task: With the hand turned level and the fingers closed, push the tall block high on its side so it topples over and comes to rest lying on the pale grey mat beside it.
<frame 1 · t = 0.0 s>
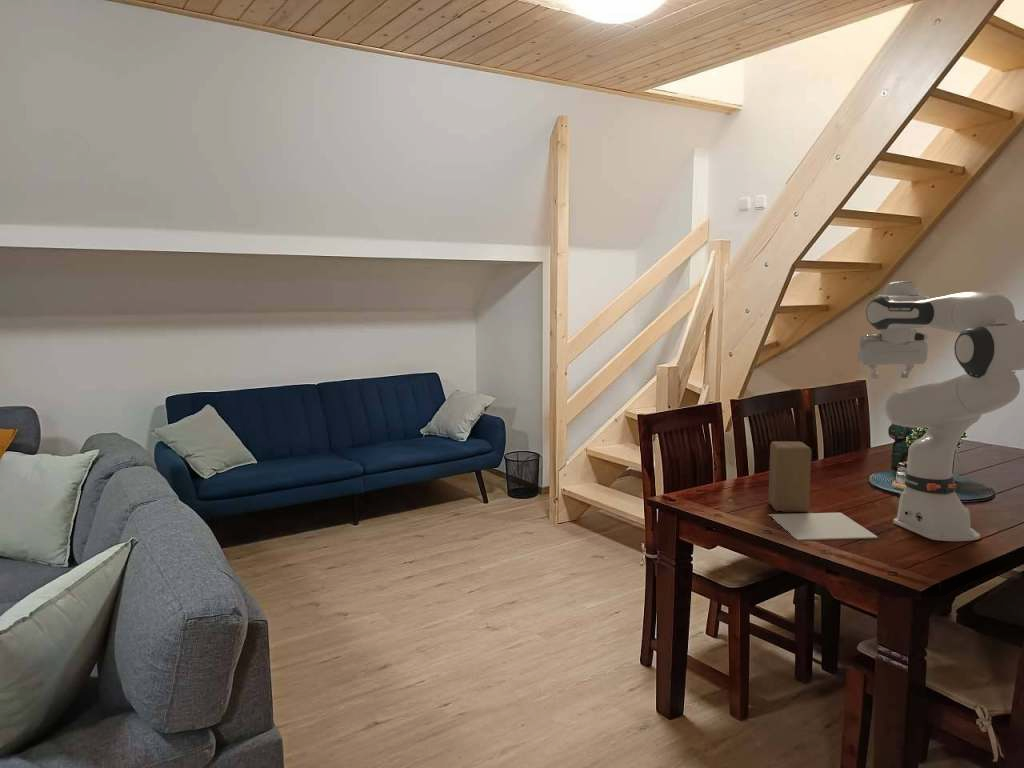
hand: (889, 378, 227), 39 cm above the table, tool pointing down, fingers open, 8 cm apart
block: (788, 508, 226), on the table
mat: (820, 526, 208), on the table
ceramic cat: (917, 471, 265), on the table
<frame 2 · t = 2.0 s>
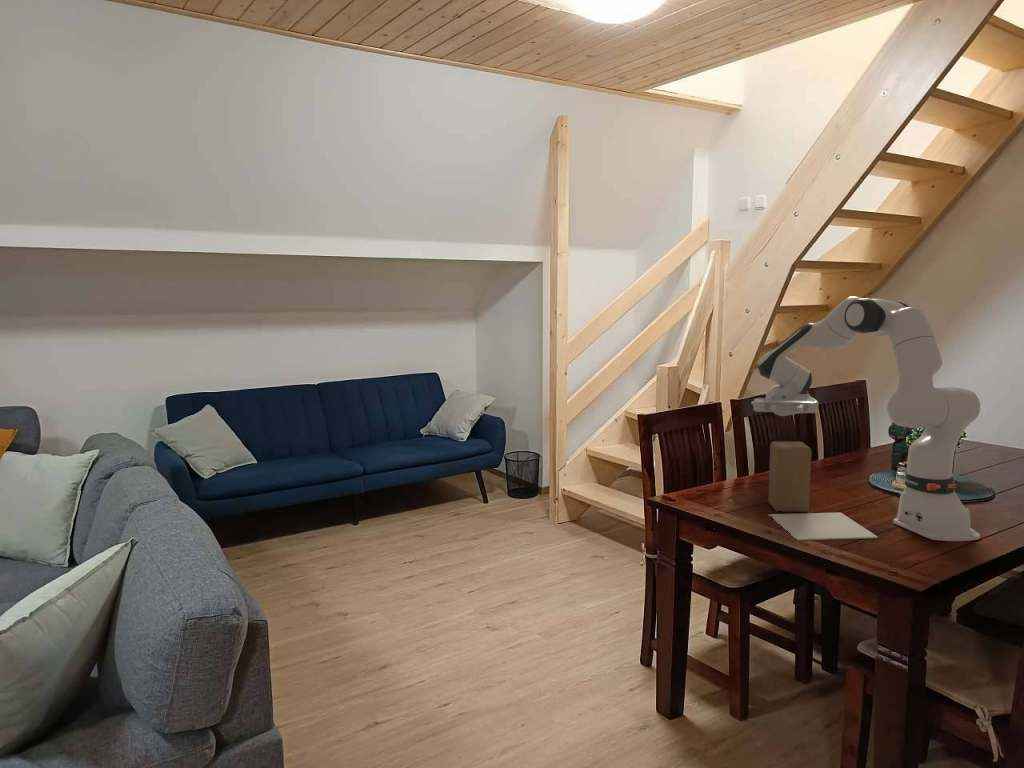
hand: (788, 409, 236), 28 cm above the table, tool horizontal, fingers open, 5 cm apart
nothing on the table moved.
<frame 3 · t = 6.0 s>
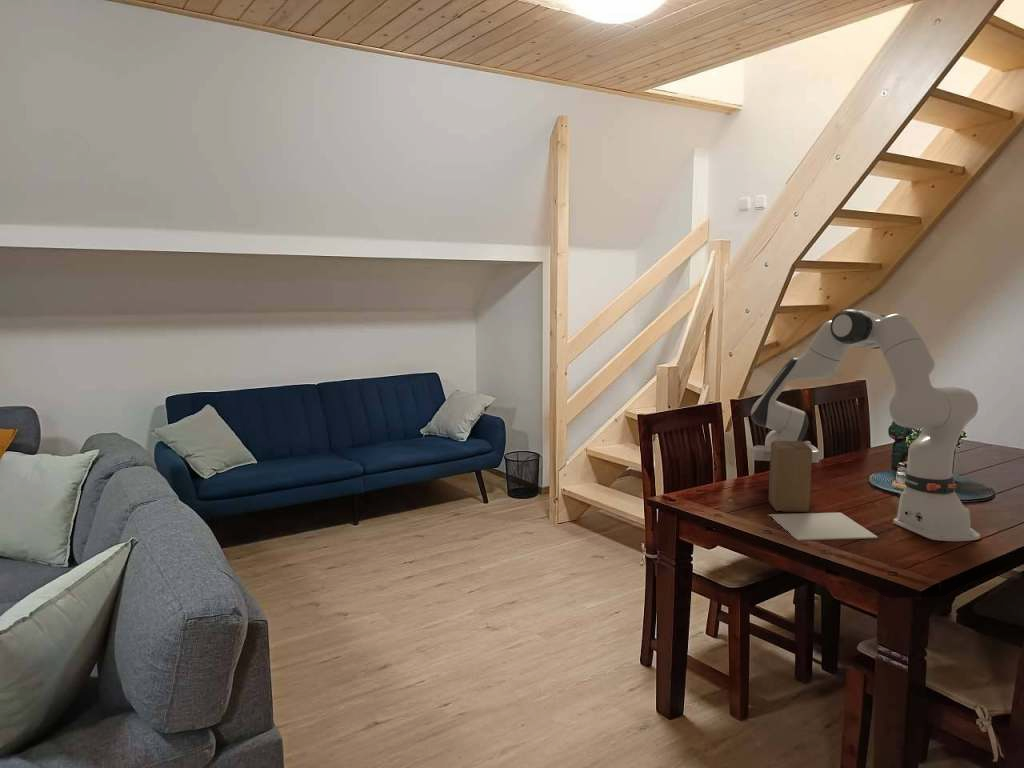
hand: (787, 459, 228), 14 cm above the table, tool horizontal, fingers closed
block: (788, 507, 226), on the table, touching gripper
everything else where it was.
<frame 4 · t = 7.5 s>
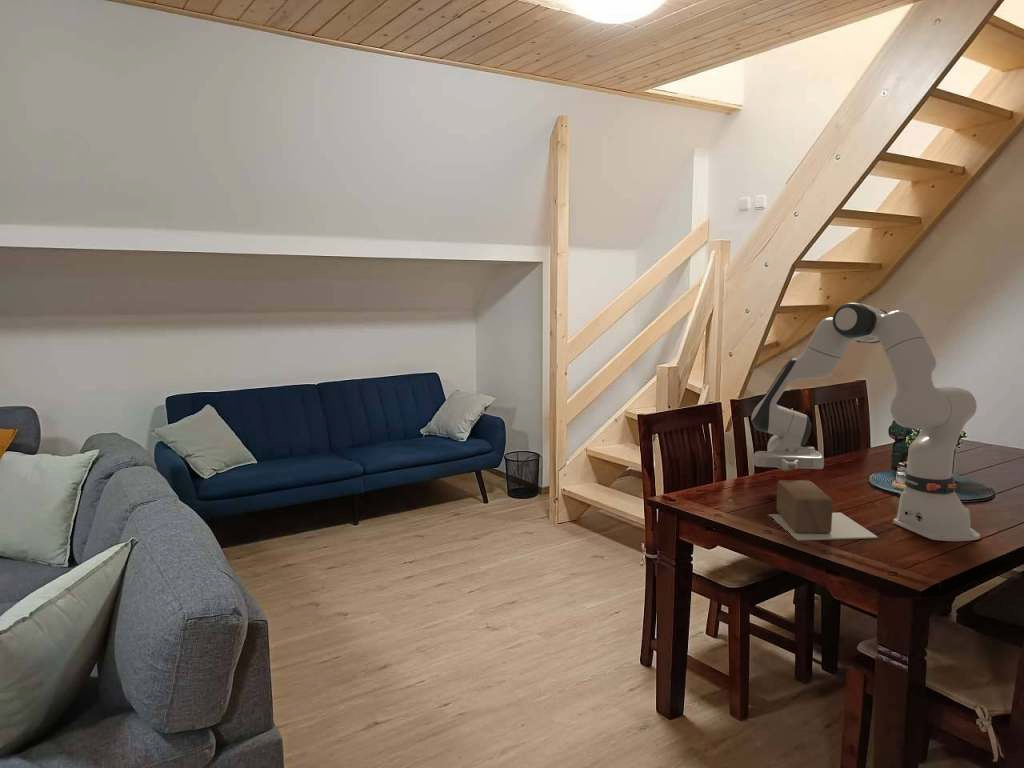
hand: (791, 466, 220), 14 cm above the table, tool horizontal, fingers closed
block: (793, 495, 220), point 5 cm above the table, touching mat
everything else where it was.
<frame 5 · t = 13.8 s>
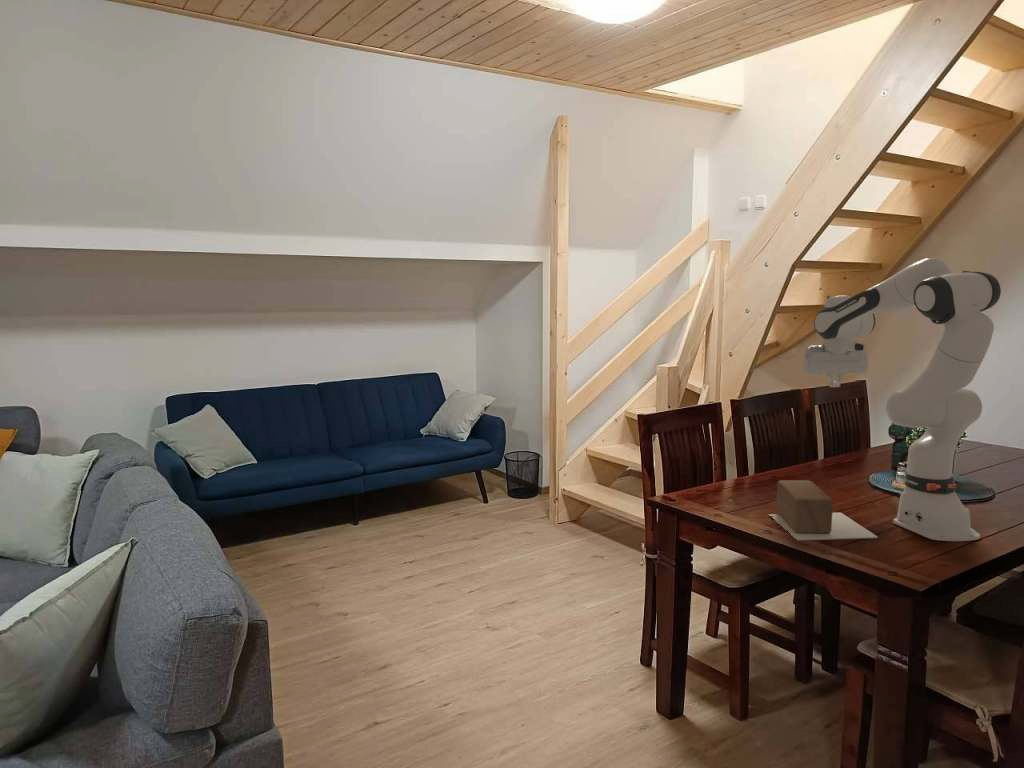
hand: (834, 386, 242), 34 cm above the table, tool pointing down, fingers closed
nothing on the table moved.
at the end: block tilted 90°; block touching mat; block inside the target area (9.2 cm from its centre), point 5.4 cm above the table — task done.
